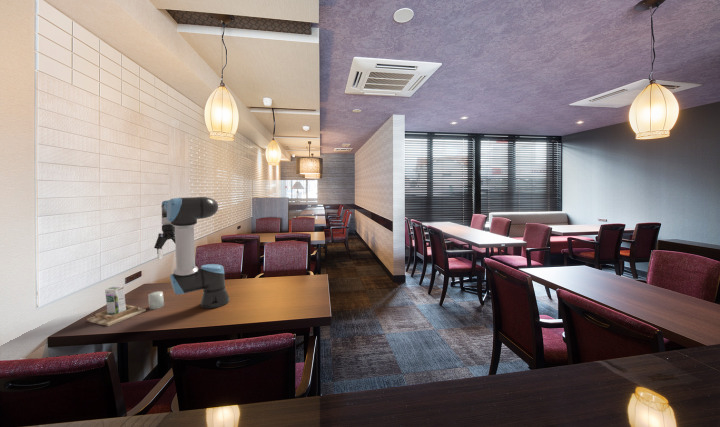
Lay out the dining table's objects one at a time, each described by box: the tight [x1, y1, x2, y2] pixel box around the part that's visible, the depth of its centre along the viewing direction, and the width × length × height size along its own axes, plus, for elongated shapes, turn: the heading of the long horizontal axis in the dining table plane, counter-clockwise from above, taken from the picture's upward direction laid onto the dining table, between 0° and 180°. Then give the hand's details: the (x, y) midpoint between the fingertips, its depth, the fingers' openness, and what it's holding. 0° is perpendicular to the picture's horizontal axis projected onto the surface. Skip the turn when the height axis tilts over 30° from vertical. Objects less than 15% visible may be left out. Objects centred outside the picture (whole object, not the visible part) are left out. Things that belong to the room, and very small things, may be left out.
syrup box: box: [104, 285, 127, 315], centre depth 152 cm, size 6×6×14 cm
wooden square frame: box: [86, 304, 147, 327], centre depth 153 cm, size 18×18×3 cm
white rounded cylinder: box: [147, 290, 165, 310], centre depth 164 cm, size 7×7×8 cm
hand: (169, 258), depth 177 cm, fingers open, 13 cm apart
